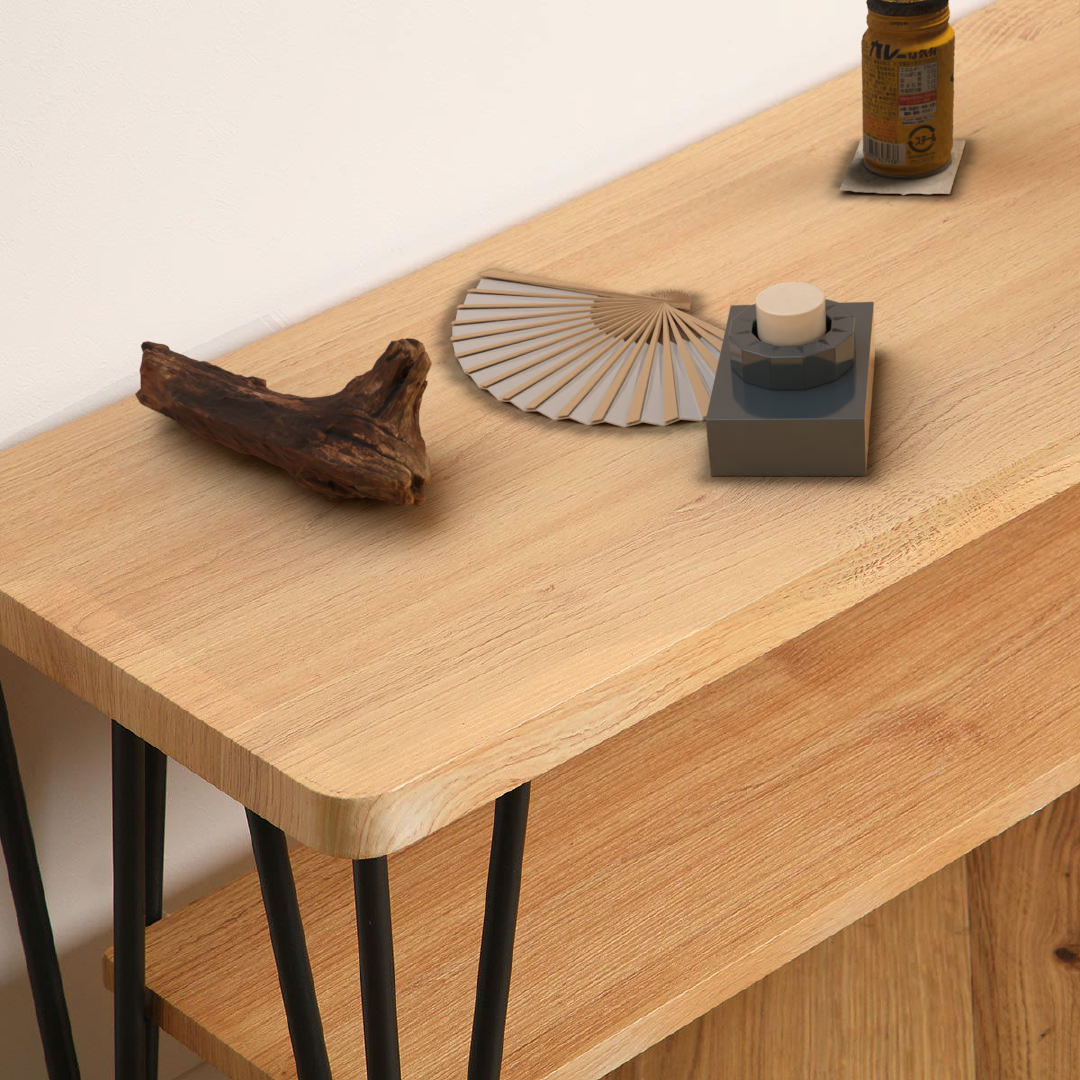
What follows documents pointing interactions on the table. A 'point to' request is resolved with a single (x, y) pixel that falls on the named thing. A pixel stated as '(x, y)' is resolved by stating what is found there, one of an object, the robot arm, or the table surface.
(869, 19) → the condiment
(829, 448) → the grey socket base
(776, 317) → the cream cylinder plug
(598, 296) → the hand fan
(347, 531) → the table surface
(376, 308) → the table surface
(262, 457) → the driftwood
